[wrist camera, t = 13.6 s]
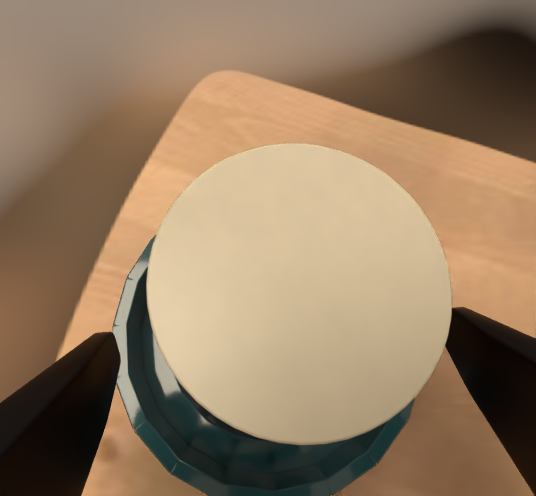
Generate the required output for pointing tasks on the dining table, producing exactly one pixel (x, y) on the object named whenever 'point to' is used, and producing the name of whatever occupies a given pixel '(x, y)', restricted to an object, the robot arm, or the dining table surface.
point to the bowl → (223, 424)
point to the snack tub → (299, 294)
